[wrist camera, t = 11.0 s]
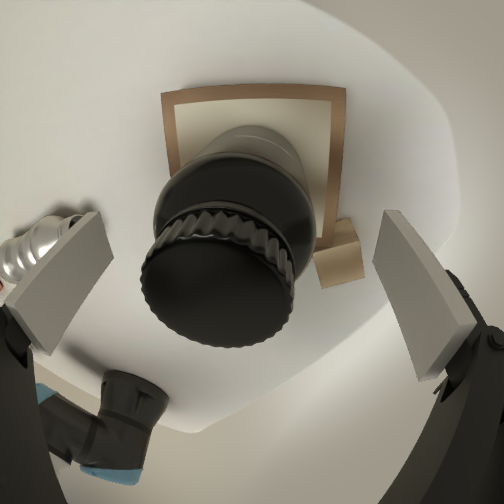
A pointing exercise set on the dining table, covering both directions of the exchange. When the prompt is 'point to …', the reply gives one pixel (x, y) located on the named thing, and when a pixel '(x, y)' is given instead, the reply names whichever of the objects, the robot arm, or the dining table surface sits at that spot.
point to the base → (272, 117)
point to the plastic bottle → (32, 246)
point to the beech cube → (340, 257)
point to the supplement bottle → (231, 240)
